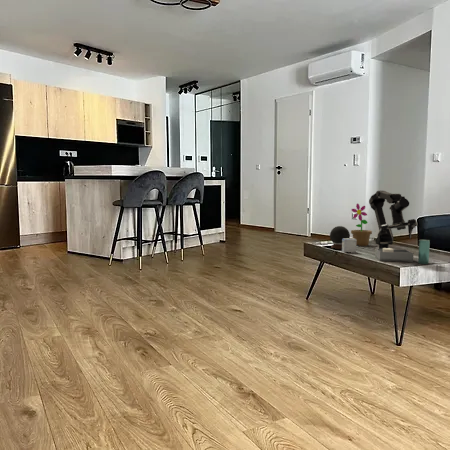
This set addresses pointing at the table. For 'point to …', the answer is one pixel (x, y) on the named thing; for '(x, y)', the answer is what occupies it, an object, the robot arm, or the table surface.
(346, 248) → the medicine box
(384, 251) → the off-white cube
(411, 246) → the table surface
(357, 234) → the flowerpot
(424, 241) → the teal tin
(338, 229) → the black round ball shape
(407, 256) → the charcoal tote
